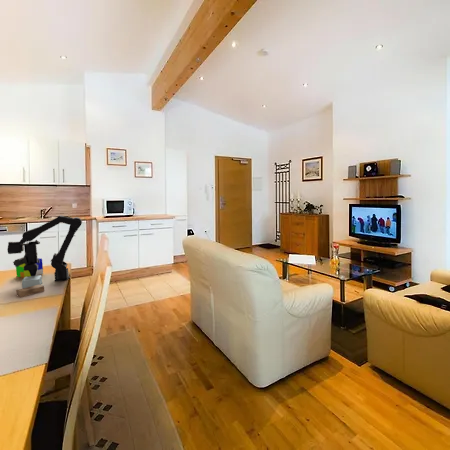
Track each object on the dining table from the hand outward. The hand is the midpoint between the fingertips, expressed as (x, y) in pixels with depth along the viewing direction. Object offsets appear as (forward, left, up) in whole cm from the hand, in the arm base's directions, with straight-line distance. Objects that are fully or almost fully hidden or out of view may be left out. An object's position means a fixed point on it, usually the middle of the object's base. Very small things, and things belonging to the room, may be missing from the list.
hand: (33, 278), depth 164 cm
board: (-7, +18, -3) cm, 20 cm away
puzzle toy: (+10, -18, -3) cm, 20 cm away
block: (-3, +7, -3) cm, 8 cm away
